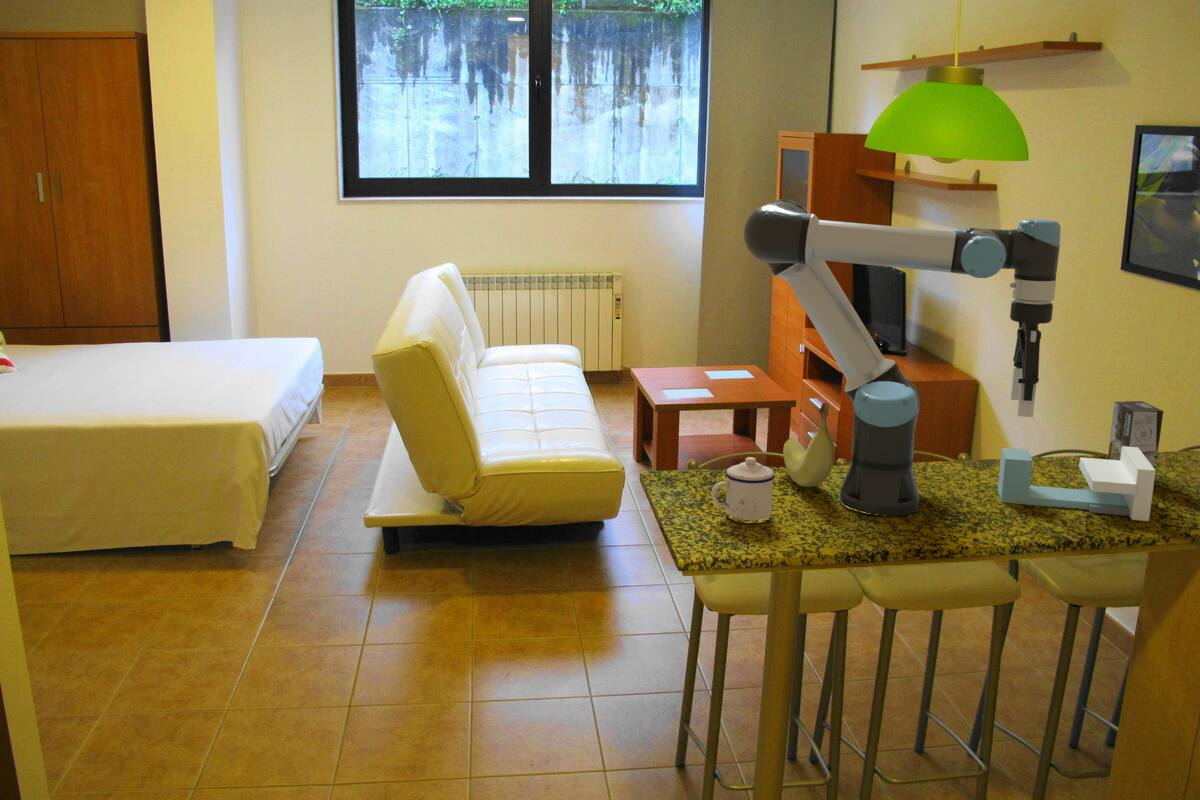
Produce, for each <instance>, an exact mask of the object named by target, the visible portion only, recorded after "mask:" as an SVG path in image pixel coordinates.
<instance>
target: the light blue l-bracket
mask: <svg viewBox="0 0 1200 800" xmlns="http://www.w3.org/2000/svg"><path fill="white" fill-rule="evenodd" d="M1032 469H1033V459H1032V456H1031V453H1030V451H1029V449H1024V448H1023V449H1022V448H1010V447H1009V448H1008V447H1001V454H1000V463H999V474H998V483H997V484H998V485H997V492H998V495H999V499H1001V500H1000V502H1001V503H1006V504H1007V503H1008V504H1017V505H1021V504H1022V505H1029V506H1030V505H1031V506H1043V507H1053V508H1054V507H1055V508H1063V507H1064V508H1065V509H1075V508H1078V509H1079V510H1087V511H1089V505H1101V506H1113V507H1125V508H1128V505H1127V503H1126V501H1125V500H1124V498H1123V496H1122V495H1121V493H1109V492H1097V491H1091V490H1081V489H1077V488H1064V487H1054V486H1053V487H1052V486H1051V487H1050V486H1042V485H1041V486H1039V485H1038V486H1037V485H1031V480H1032ZM1078 509H1077V510H1078Z"/></svg>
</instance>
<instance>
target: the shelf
mask: <svg viewBox="0 0 1200 800" xmlns="http://www.w3.org/2000/svg"><path fill="white" fill-rule="evenodd" d="M1078 469H1079V470H1080V471H1081V473H1082V475H1083V477H1084V479H1085V481H1086V483H1087V485H1088V486H1089V488H1084V487H1083V488H1080V490H1091V491H1097V492H1109V493H1121V495H1122V496H1123V498H1124V500H1125V501H1126V503H1127V505H1128V508H1125V507H1113V506H1101V505H1089V510H1088V512H1089V513H1094V514H1103V515H1106V514H1107V515H1115V516H1127V517H1128V516H1129V518H1130V519H1131V521H1141V522H1142V521H1144V522H1149V521H1150V517H1151V516H1150V515H1151V507H1152V500H1153V493H1154V486H1155V485H1154V484H1155V478H1156V471H1157V470H1155V469H1154V468H1153V466H1152V465H1151V464H1150V462H1149V461H1148V460H1147V458H1146V457H1145V456H1144V455H1143V453H1142V452H1141V451H1140V449H1139V448H1138V447H1126V446H1122V449H1121V457H1120V460H1108V458H1107V459H1105V458H1104V459H1103V458H1093V457H1092V458H1091V457H1080V458H1079V464H1078Z"/></svg>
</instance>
